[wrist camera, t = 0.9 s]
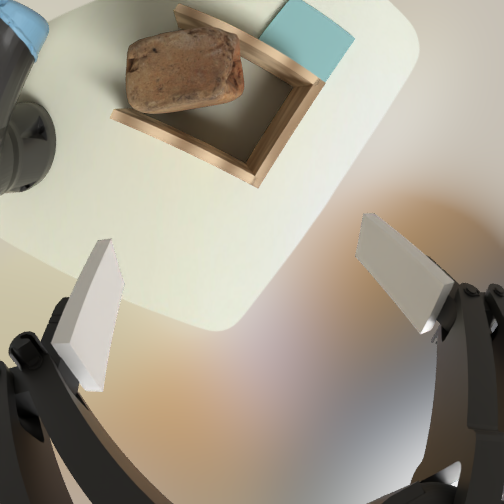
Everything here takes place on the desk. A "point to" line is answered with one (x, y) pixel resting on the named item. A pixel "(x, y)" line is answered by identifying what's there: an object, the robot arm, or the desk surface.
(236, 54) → the brown pitted rock
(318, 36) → the mat
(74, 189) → the desk surface
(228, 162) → the wooden u-shaped enclosure
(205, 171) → the desk surface
